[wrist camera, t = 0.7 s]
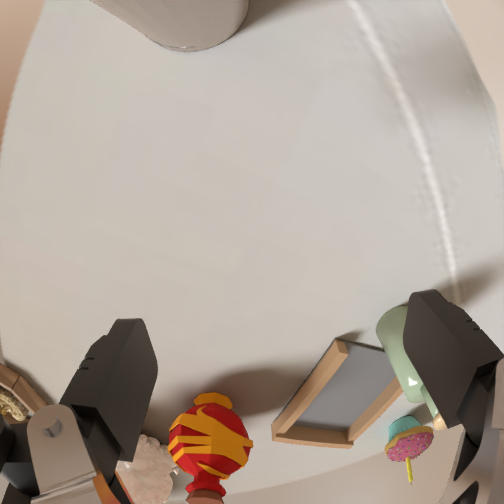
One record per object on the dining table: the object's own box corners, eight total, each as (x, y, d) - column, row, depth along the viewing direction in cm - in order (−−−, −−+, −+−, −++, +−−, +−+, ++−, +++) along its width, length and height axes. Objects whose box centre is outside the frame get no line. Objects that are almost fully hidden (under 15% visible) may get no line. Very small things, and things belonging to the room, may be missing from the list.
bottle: (392, 300, 32) (451, 398, 19) (424, 311, 33) (483, 400, 20) (367, 337, 35) (410, 438, 21) (400, 345, 35) (446, 437, 22)
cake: (-8, 364, 39) (-21, 382, 34) (36, 392, 42) (24, 413, 37) (-6, 393, 42) (-17, 410, 37) (33, 418, 44) (24, 437, 39)
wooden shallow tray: (334, 338, 34) (340, 355, 32) (415, 357, 37) (423, 373, 34) (271, 424, 41) (272, 440, 39) (345, 434, 43) (349, 448, 41)
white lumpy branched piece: (28, 411, 29) (131, 534, 23) (132, 359, 46) (222, 450, 40) (35, 452, 36) (111, 539, 31) (112, 409, 54) (181, 480, 48)
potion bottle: (266, 409, 40) (272, 506, 26) (208, 431, 42) (201, 518, 28) (217, 367, 36) (208, 479, 22) (158, 394, 38) (136, 490, 25)
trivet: (-29, 344, 37) (-39, 356, 33) (44, 387, 39) (36, 402, 36) (-11, 397, 43) (-18, 408, 40) (53, 433, 46) (48, 446, 43)
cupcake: (391, 441, 46) (408, 493, 35) (369, 430, 44) (387, 489, 33) (430, 416, 44) (453, 468, 33) (413, 402, 41) (438, 461, 30)
